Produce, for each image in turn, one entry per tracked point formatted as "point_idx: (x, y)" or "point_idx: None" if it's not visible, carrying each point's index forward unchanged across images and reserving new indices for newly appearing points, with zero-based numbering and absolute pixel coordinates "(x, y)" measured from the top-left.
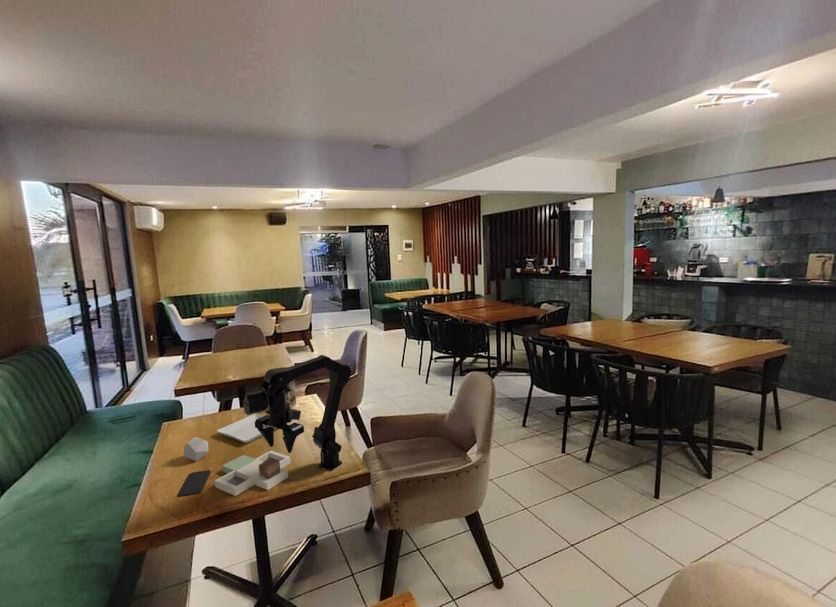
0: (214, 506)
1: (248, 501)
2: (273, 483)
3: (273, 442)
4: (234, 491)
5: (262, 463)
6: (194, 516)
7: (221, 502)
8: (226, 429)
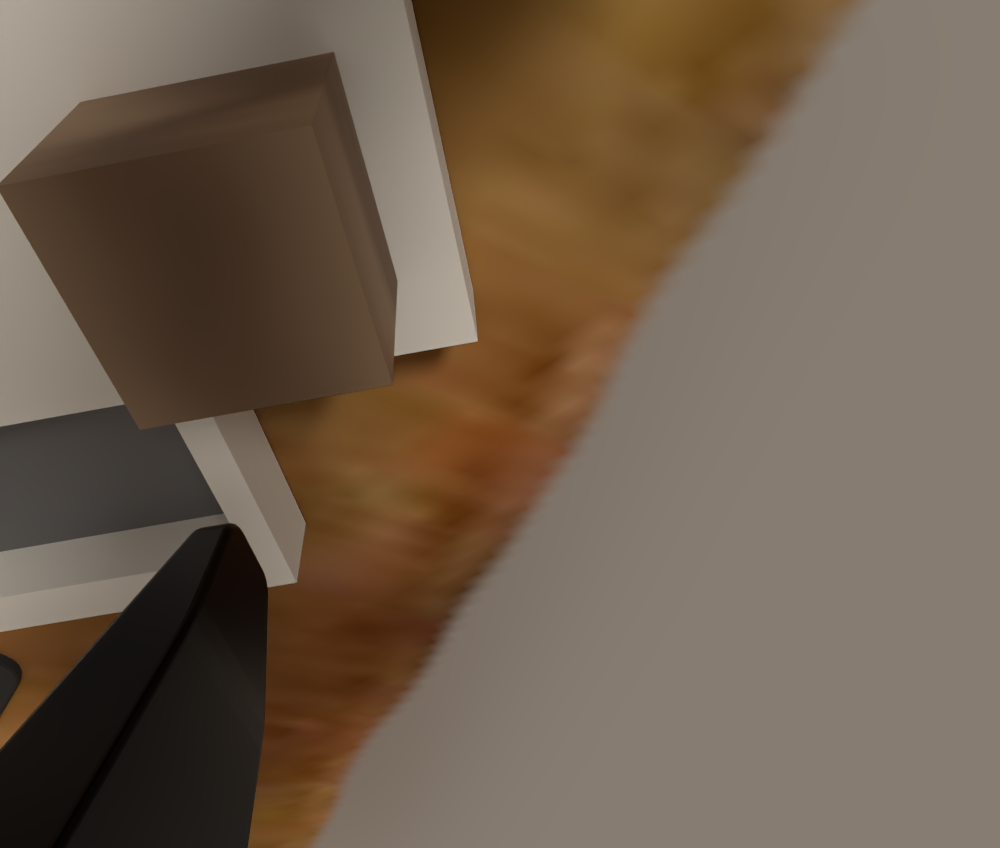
0: (334, 646)
1: (500, 484)
2: (454, 218)
3: (211, 610)
4: (294, 561)
5: (125, 369)
6: (355, 731)
7: (317, 608)
8: None
